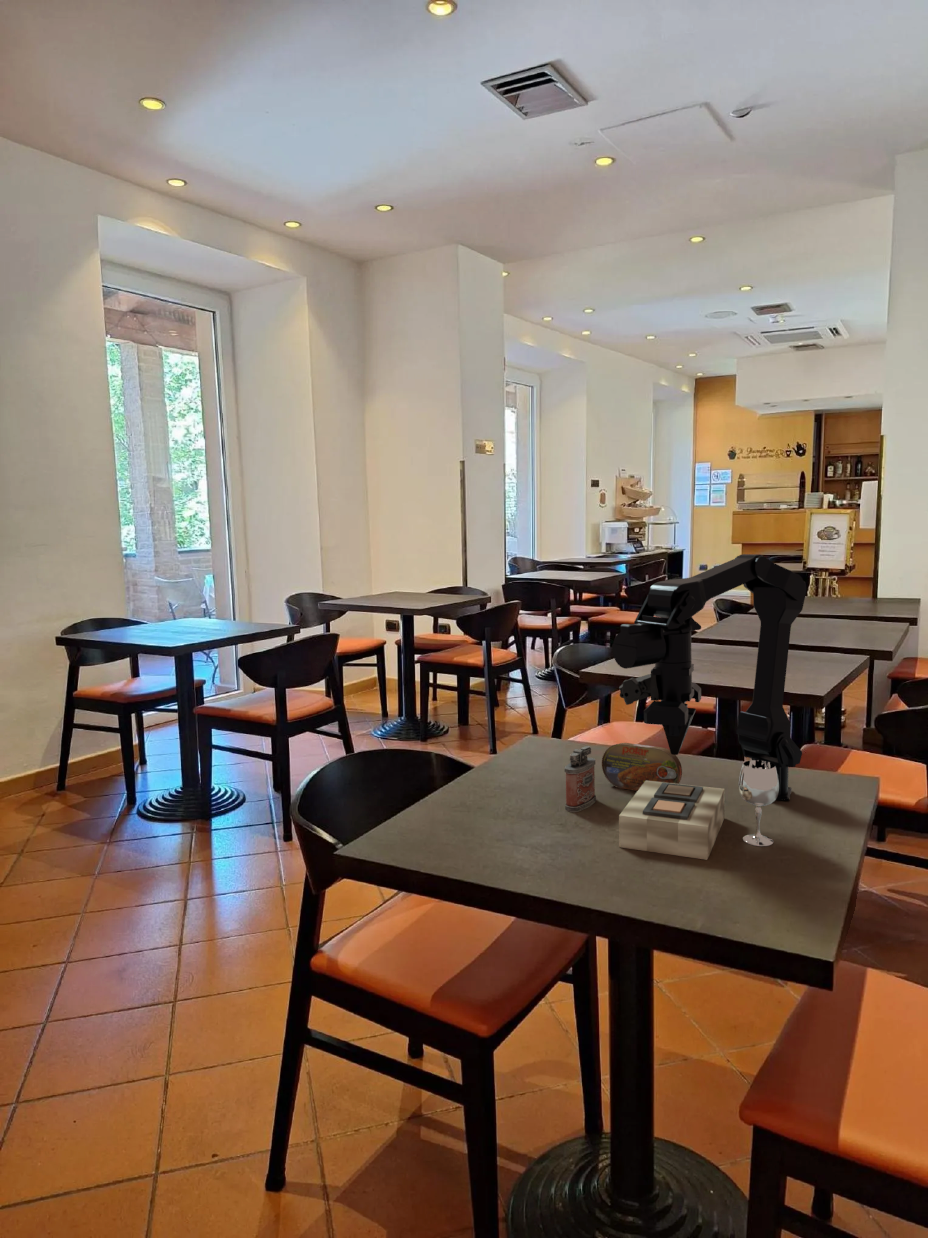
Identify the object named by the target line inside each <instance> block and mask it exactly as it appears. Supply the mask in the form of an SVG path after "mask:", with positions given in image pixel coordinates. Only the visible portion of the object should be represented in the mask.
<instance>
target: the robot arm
mask: <svg viewBox="0 0 928 1238" xmlns="http://www.w3.org/2000/svg"><path fill="white" fill-rule="evenodd" d="M742 585H743V587H744V588H745V589H747V591H749V592H750V593H752V595H753V596H752V597H753V599H752V600H753V601H752V602H753V604H752V605H753V608H754V611H755V612H756V615H757V616H758V619H759V621H760V626H759V627H760V628H759V635H758V636H759V638H758V647H757V648H758V649H757V655H756V656H757V657H756V666H755V675H754V676H755V677H754V685H753V686H754V687H753V694H752V695H753V696H752V703H751V704H750V705H749V706H748V707H747V709H746V711H742V710H741V711H740V712H739V713H738V715H737V716H738V719H737V720H738V721H737V722H738V724H737V729H736V731H735V734H737V739H738V744H739V745H740V747H741V748H740V749H741V751H742V755H743V757H744V758H748V759H751V760H761V761H767V762H771V763H773V764H775V767H776V771H777V775H778V780H779V792H778V796H777V798H776V800H778V801H785V802H786V801H790V798H791V795H792V787H790V786H789V768H795V767H796V765H800V763H801V759H802V756H803V751H802V750H801V748H799V746H798V745H797V744H796V742H795V741H794V740H793V738H791V722H790V719H789V717H788V716H787V712H786V710H785V708H784V696H785V694H784V693H785V687H786V686H785V685H786V678H787V677H786V676H787V668H788V667H787V666H788V658H789V648H790V638H791V629H792V624H793V623H794V622H795V620H796V619H797V618H798V616H799V615H800V614H801V613H802V611H803V607H804V604H805V600H806V595H807V583H806V581H804V579H803V577H802V576H801V575H800V574H798V573H796V572H793V571H791V570H790V569H788V568H785V567H783V566H781V565H779V564H778V563H775V562H772V560H770V559H769V558H768V557H766V556H764V555H762V554H753V553H752V554H748V553H747V554H746V553H744V554H742V553H741V554H739V555H737V556H735V558H734V559H731V560H729V561H726V562H724V563H721V564H719V565H717V566H715V567H712V568H709V569H708V570H705V571H703V572H700V573H698V574H695V575H693V576H690V577H685V578H684V577H683V578H675V579H673V578H672V579H666V580H662V581H657V582H655V583H653V584H652V585H651V586H650V587H649V592H648V594H647V596H646V598H645V600H644V602H643V604H642V606H641V608H640V610H639V612H638V614H637V616H636V618H635V619H634V623H633V624H630V623H623V624H621V625H620V632H618V634H617V635H616V636H615V637H614V639H613V643H612V644H611V653H612V656H613V659H614V661H615V662H616V664H617V665H618V666H619V667H620V668H622V669H633V668H639V667H643V666H648V665H649V666H650V665H654V667H653V668H652V669H650V673H649V674H645V675H642V676H639V677H636V678H635V677H631V678H629V679H625V680H624V681H623V682H622V683H621V685H619V687H618V689H619V691H620V693H619V697H620V698H622V699H623V701H624V703H625V706H629V705H632V704H634V703H635V702H637V701H641V700H644V699H647V698H649V697H650V701H651V703H650V704H649V705H648V706H647V707H645V709H644V710H643V724H646V725H658V726H659V725H661V726H662V728H663V731H664V734H665V737H666V740H667V745H668V749H669V750H670V752H671V754H672V755H676V756H678V755H679V754H680V751H681V748H682V746H683V744H684V743H683V742H684V741H685V738H686V736H687V733H688V731H689V729H690V725H691V723H692V720H693V718H694V715H695V713H696V710H697V709H696V708H695V707H689V706H688V705H689V704H688V703H687V702H691V700H692V699H694V700H695V701H694V702H695V703H700V701H701V700H702V688H701V687H700V686H699V685H698V684H697V683H696V682H693V676H692V675H693V674H692V673H693V672H694V671H695V669H694V668H695V666H694V665H695V664H694V663H692V632H696V631H700V630H702V626H701V624H700V623H698V622H697V621H696V620H695V619H694V618H693V617H694V616H695V615H696V614H698V613H699V612H700V611H702V610H703V609H704V607H705V605H706V604H707V602H708V601H709V600H711V599H713V598H715V597H718V596H720V595H722V594H724V593H728V591H732V590H733V589H736V588H739V587H740V586H742ZM776 800H775V801H776Z"/></svg>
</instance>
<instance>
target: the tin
mask: <svg viewBox="0 0 928 1238" xmlns="http://www.w3.org/2000/svg"><path fill="white" fill-rule="evenodd" d="M601 768H602V769H601V770H602V772H603V775H604V777H605V778H606V779H607V781H608V782H609V783H610V784H611V785H613V786H614V787H616V788H617V789H618V788H619V789H623V790H627V791H628V790H629V791H635V792H637V791H638V790H639V789H640V787H641V786H642V785H643V783H644V782H645V781H646V780H647V781H656V782H665V783H675V784H680V783H681V780H682V776H683V767H682V764H681V761H680V759H679V758H678V755H672V754H671V752H670V749H669V748H666V747H661V746H652V745H646V744H645V745H644V744H637V743H631V742H630V743H629V742H620V743H616V744H612V745H610V746H609V747H608V748H607V749H606V750H605V751H604V752H603V755H602V758H601Z"/></svg>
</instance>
